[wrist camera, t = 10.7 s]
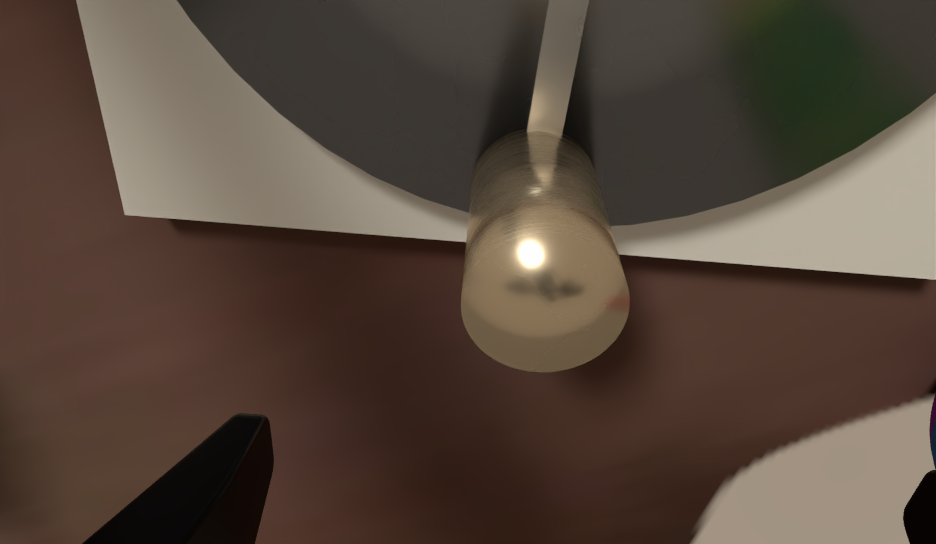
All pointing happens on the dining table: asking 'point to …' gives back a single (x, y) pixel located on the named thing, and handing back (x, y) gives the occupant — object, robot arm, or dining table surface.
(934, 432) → the decorative egg
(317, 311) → the dining table surface
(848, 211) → the base plate
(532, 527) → the dining table surface
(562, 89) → the handwheel
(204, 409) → the dining table surface
